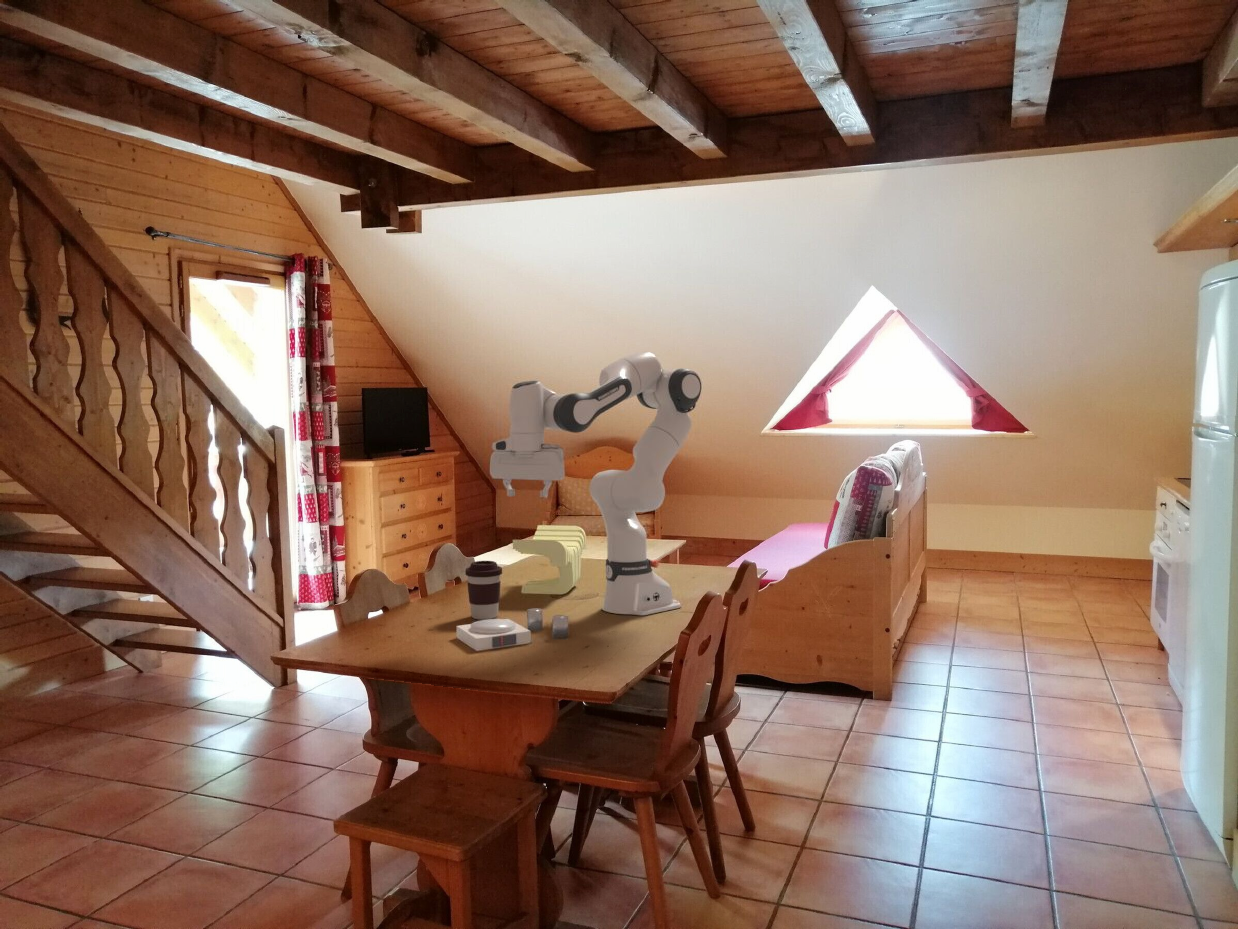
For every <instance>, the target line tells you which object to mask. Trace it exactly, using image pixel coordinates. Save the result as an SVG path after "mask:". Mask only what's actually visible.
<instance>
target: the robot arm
mask: <svg viewBox="0 0 1238 929" xmlns="http://www.w3.org/2000/svg"><path fill="white" fill-rule="evenodd" d="M598 379H599V381H598V382H599V383H598V384H599V386H598V387H597V388H594V389H593V390H591V391H588V392H587V393H581V392H576V393H556V392H555V391H552V390H551V389H549V388H547V387H546V386H544V385H543V384H542V382H541V381H538V380H529V381H522V382H521V381H520V382H518V383H516V384H514V385H513V386H512V388H511V390H510V396H509V420H510V429H509V437H507V438H502V439H500V440H496V441H494V442H492V445H491V448H492V450H493V452H492V454H491V455H490V460H489V463H490V464H489V474H490V476H491V478H492V479H498V480H499V479H502V484H503V486H504V488H505V489H506V494H507V497H515V496H516V489H515V488H513V487H512V485H511V483H512V480H529V481H530V480H531V481H536V480H537V481H543V485H544V486H543V489H542V490H539V498H541V499H542V498H543V499H544V498H545V499H546V498H548V496H549V490H550V488H551V486H552V484H553V481H561V480H563V479H564V478H565V476H566V474H565V473H566V470H565V463H564V459H565V458H564V457H565V451H564V448H563V447H562V446H560V445H559V444H551V443H550V444H549V443H547V444H546V443H545V430H549V431H550V430H551V431H561V432H569V433H572V434H573V433H576V434H578V433H581V432H584V431H586V429H588V428H589V427H590V426H591V425H592V424H593V422H594V421H595V420H596V419H597V418H598V417H599V416H600V415H601V414H603V413H604V412H607V411H608V410H610V409H611V408H614V407H615V406H616V405H617V406H618V404H620V403H622V402H624V401H626V400H629V399H631V398H633V397H635V396H636V398H637V400H638V402H639V403H640V404H641V405H642V406H643V407H645V408H647V409H652V410H656V409H657V410H656V415H655V418H654V419H653V421H652V422H651V423H650V424H649V426H648V427H647V428H646V430H645V431H644V432H643V433H642V435H641V436H640V438H639V439H638V440H637V442H636V444H635V445H634V446H633V448H632V455H633V458H634V462H633V465H632V466H631V467H630V468H629V469H628V470H621V469H608V470H603V471H600V472H597V473H595V474H594V476H593V477H592V479H591V481H590V484H589V494H590V498H591V499H592V501H593V502H594V503H595V504H596V505H597V507H598V509H599V510H600V513H601V517H602V520H603V523H604V526H605V532H606V549H607V550H606V551H607V553H606V554H607V557H606V559H605V579H606V585H605V594H604V599H603V603H602V607H601V609H602V610H603V611H604V612H607V613H612V614H619V615H634V616H635V615H636V616H647V615H651V614H656V613H661V612H666V611H670V610H674V609H679V608H682V607H681V603H680V601H678V599H677V600H676V599H674V598H673V597H674V596H673V591H672V587H671V586H670V584H669V583H668V582H667V581H666V580H664V579H663V578H662V577H660V576H659V575H658V574H656V573H655V572H654V571H653V568H656V569H657V568H659V566H660V562H659V561H658V560H655V559H652V560H651V559H649V558H647V556H648V554H647V532H646V529H645V528H644V526H643V524H641V523H640V521H639V519H638V516H637V514H636V513H647V512H652V511H656V510H658V509H659V508H660V507H661V506H662V505H663V503H664V500H665V496H666V488H665V485H664V482H663V481H664V480H663V479H664V476H665V472H666V471H667V468H668V467H669V465H670V464H671V463H672V461H673V459H675V457H676V455H677V454H678V452H679V450H680V449H681V448H682V446H683V444H684V443H685V440H686V439H687V437H688V435H689V433H690V431H691V428H692V418H691V416H690V414H689V413H690V412H692V411H693V410H694V409H695V408H696V406H697V402H698V401H699V399H700V397H701V393H702V380H701V377H700V376H699V375H698V373H697V372H695V371H693V370H691V369H687V368H678V369H677V368H675V369H673V368H672V369H671V368H669V369H662V364H661V362H660V360H659V358H658V357H657V356H656V355H655V354H653V353H651V352H648V351H644V352H643V351H642V352H638V353H633V354H630V355H627V356H623V357H622V358H619V359H617V360H615V361H613V362H611V363H609V364H608V365H607V366H606V367H604V368H603V369H602V370H601V371H600V373H599V378H598Z"/></svg>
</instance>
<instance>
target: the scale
mask: <svg viewBox="0 0 1238 929" xmlns="http://www.w3.org/2000/svg"><path fill="white" fill-rule="evenodd" d="M531 633H532V631H530V630H528V629H527V627H524V626H522V625H521V624H519V623H517V622H515V621H513V620H512V619H509V618H505V619H504V618H493V619H486V620H477V621H474V622H472V623H470V624H462V625H456V638H457V639H458V640H460V641H461V642H463V643H464V644H465V645H467V646H468V647H470V648H471V649H473V650H475V652H478V651H479V652H480V651H487V650H492V649H493V650H495V649H500V648H506V647H507V648H508V647H513V646H519V645H525V644H532V637H531V635H532V634H531Z"/></svg>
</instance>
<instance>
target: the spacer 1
mask: <svg viewBox="0 0 1238 929" xmlns="http://www.w3.org/2000/svg"><path fill="white" fill-rule="evenodd" d="M543 616H544V615H543V608H536V607H534V608H533V607H532V608H529V609H527V610H526V622H527V624H526V629H528V630H530V631H531V632H541V631H542V630H543V629H544V628H543V627H544V625H543V624H544V623H543V621H544V620H543V618H544V617H543Z"/></svg>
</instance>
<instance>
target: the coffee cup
mask: <svg viewBox="0 0 1238 929" xmlns="http://www.w3.org/2000/svg"><path fill="white" fill-rule="evenodd" d="M502 574H503V567H502V566H499V565H498V563H497V562H496V561H493V560H477V561H473V562H471V563H470V566H469V567H466V568H465V576H467V592H468V601H469V604H470V605H469V606H470V615H471V618H472V619H474V620H479V621H481V620H488V619H497V617H499V604H500V603H499V602H500V599H501V598H500V597H501V575H502Z"/></svg>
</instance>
